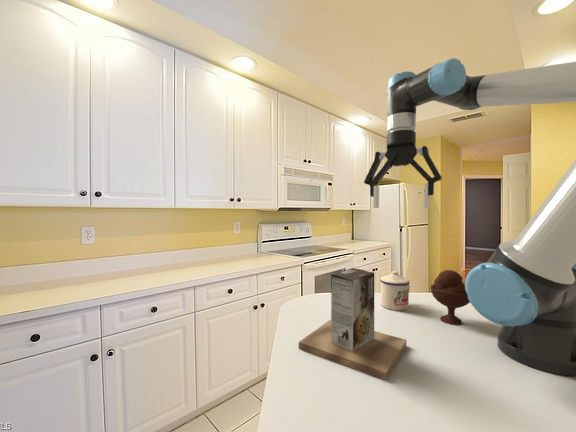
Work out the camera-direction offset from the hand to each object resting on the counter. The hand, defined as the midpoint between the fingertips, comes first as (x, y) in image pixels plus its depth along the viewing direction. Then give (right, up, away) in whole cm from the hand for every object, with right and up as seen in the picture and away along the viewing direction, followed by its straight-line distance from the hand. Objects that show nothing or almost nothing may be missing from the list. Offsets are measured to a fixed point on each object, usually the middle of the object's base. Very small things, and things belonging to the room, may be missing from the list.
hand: (400, 208), depth 77 cm
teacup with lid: (+5, -33, +15) cm, 36 cm away
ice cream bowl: (+16, -33, +2) cm, 36 cm away
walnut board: (-16, -33, -13) cm, 39 cm away
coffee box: (-16, -32, -13) cm, 38 cm away
